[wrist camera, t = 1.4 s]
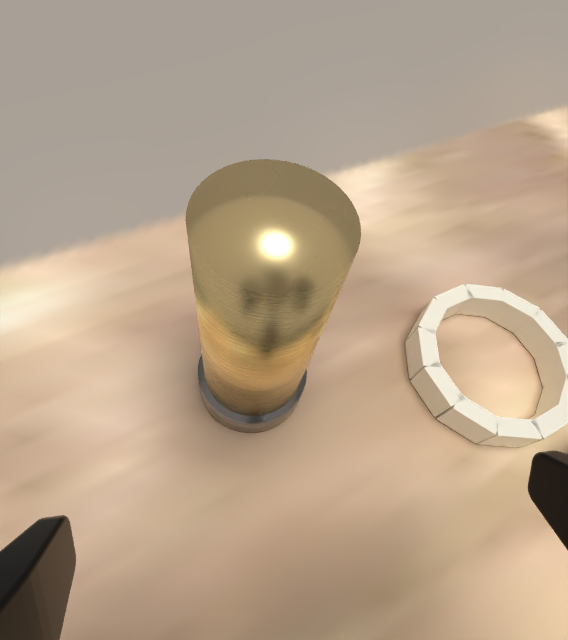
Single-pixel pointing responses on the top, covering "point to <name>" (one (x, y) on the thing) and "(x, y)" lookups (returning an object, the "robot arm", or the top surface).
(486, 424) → the socket ring
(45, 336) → the top surface
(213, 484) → the top surface
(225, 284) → the tan cylindrical piece
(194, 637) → the top surface
